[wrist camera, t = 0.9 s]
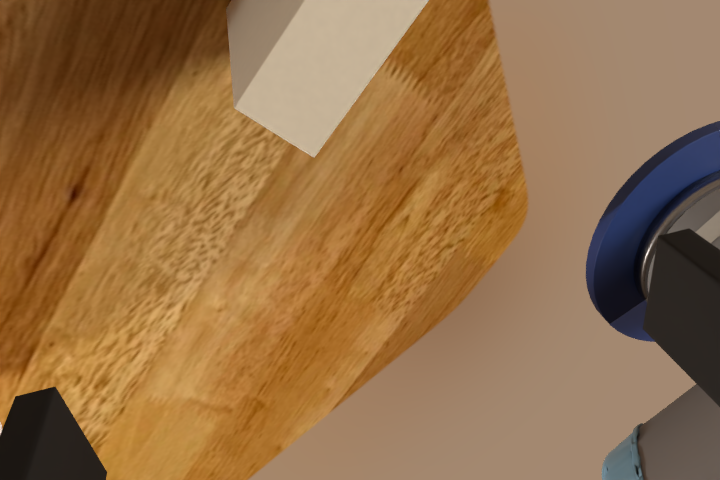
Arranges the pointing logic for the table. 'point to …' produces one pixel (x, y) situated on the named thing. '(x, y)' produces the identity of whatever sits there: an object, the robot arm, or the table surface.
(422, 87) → the table surface
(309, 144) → the white book
